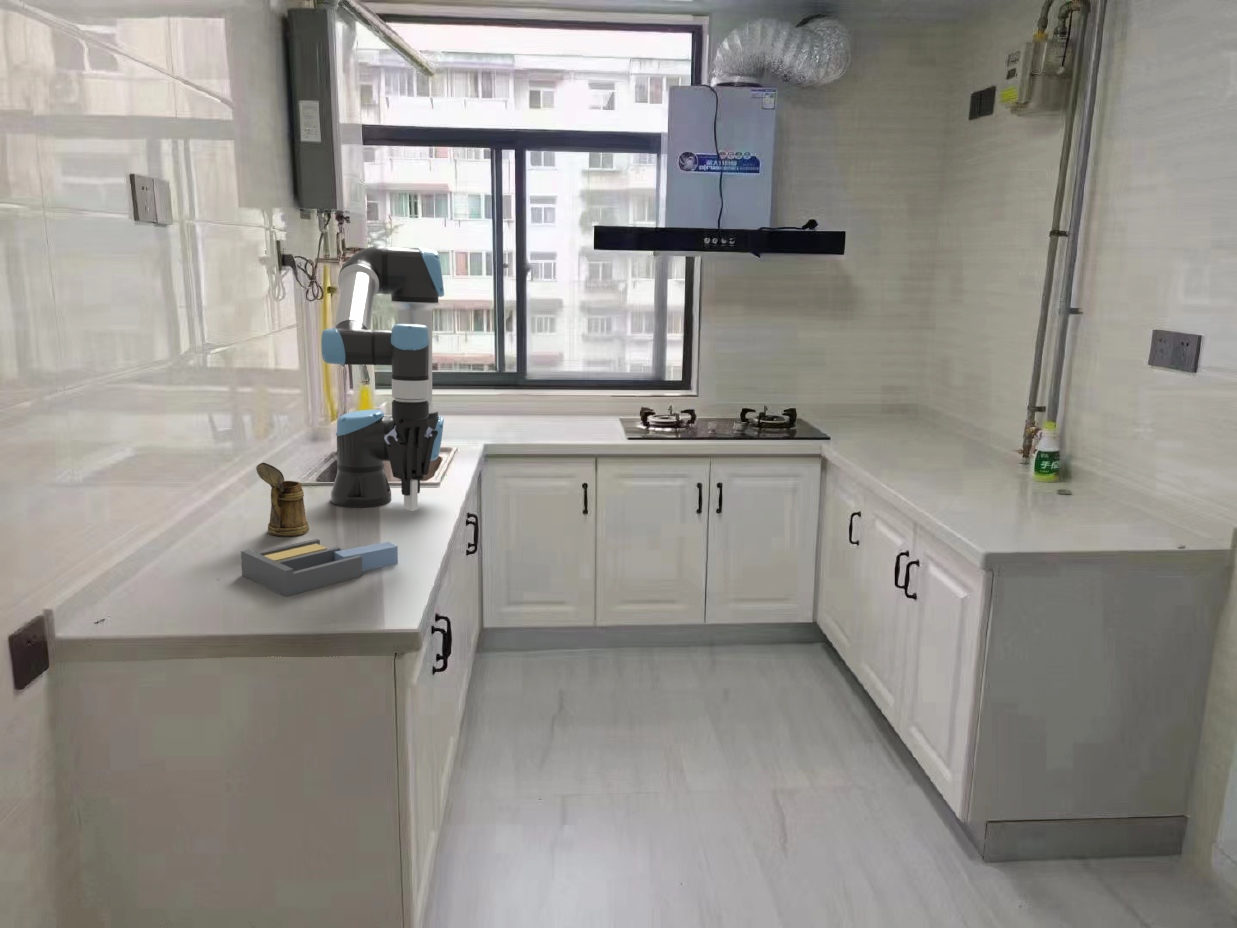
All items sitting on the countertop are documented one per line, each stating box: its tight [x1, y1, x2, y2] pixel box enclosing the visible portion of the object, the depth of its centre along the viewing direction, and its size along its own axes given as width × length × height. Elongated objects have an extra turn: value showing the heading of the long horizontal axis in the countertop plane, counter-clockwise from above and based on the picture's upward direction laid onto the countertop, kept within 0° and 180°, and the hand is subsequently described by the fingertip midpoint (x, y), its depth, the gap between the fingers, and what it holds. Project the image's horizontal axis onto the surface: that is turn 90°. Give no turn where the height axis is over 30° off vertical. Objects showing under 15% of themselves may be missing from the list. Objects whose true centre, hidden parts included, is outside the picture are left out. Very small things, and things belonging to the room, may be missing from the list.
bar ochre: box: [265, 544, 328, 561], centre depth 182 cm, size 12×4×4 cm, turn 140°
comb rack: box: [240, 538, 363, 597], centre depth 178 cm, size 17×16×5 cm
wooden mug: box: [255, 462, 310, 538], centre depth 202 cm, size 9×14×18 cm, turn 168°
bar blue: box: [334, 541, 399, 572], centre depth 185 cm, size 12×4×4 cm, turn 133°
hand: (410, 509), depth 192 cm, fingers closed
